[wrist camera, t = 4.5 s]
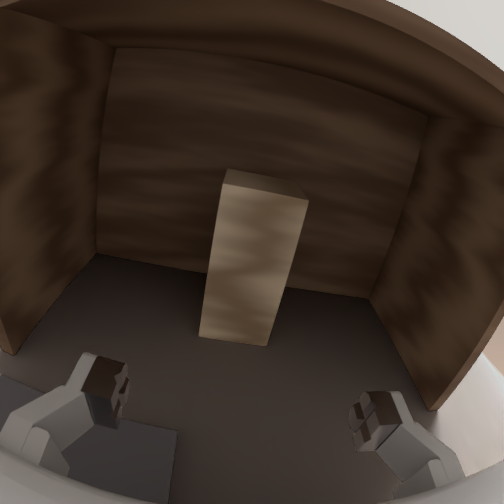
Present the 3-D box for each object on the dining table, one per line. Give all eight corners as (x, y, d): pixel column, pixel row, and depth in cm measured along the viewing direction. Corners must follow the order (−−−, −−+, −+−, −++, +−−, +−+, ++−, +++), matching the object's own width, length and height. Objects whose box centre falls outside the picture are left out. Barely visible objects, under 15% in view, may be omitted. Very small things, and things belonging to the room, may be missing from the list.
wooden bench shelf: (438, 409, 16) (566, 132, 8) (2, 350, 13) (-7, -7, 5) (373, 294, 29) (432, 109, 22) (91, 246, 26) (112, 39, 19)
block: (198, 336, 19) (222, 183, 15) (205, 298, 23) (227, 168, 19) (266, 346, 20) (309, 200, 16) (262, 307, 24) (295, 182, 20)
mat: (-61, 519, 2) (-68, 515, 2) (5, 381, 11) (1, 374, 11) (157, 624, 3) (156, 626, 3) (177, 436, 12) (177, 430, 12)
